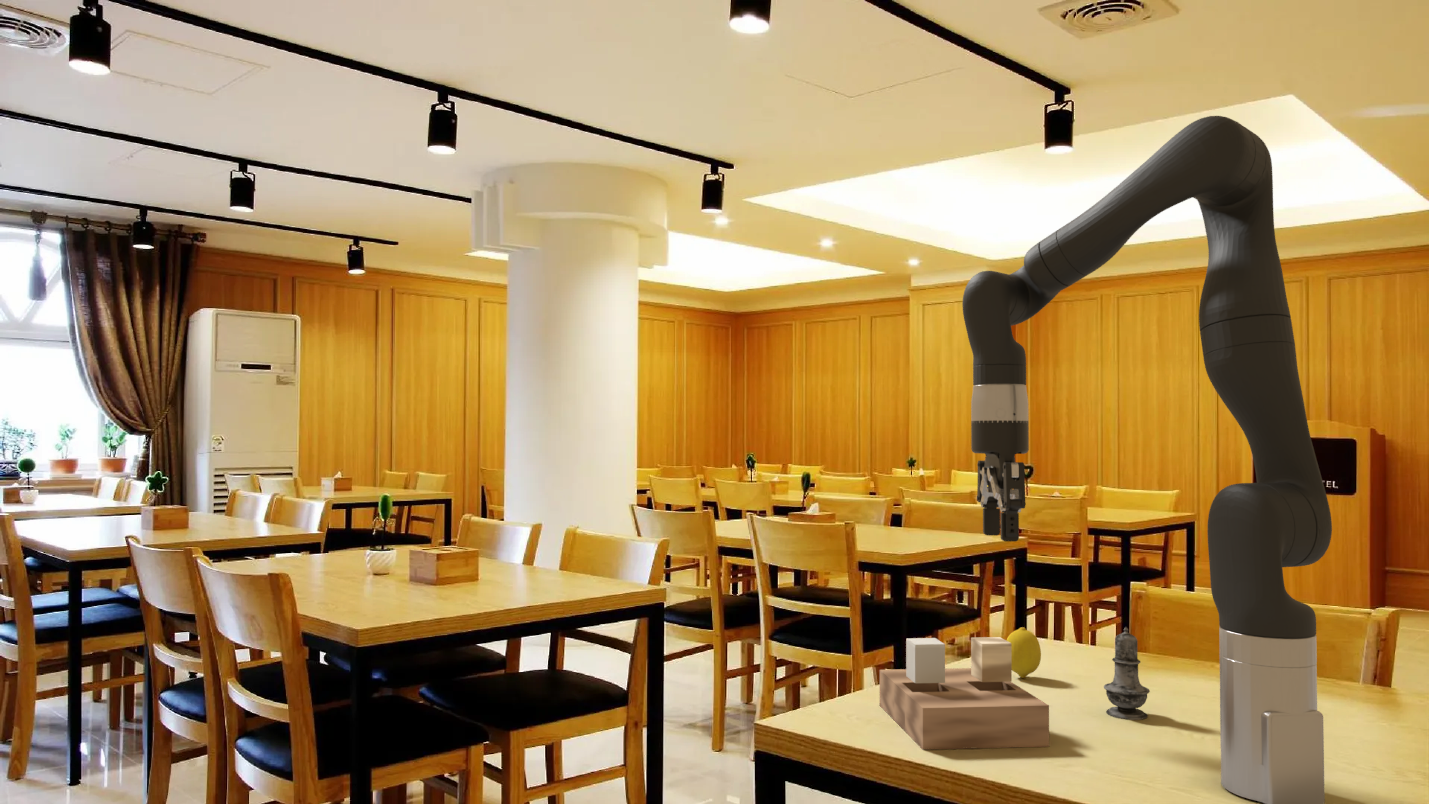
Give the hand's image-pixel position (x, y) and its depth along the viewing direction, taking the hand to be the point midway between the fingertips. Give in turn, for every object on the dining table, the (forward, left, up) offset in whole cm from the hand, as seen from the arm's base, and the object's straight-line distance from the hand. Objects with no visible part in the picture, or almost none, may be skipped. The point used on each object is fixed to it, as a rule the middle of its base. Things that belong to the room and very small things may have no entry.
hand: (1000, 538), depth 135 cm
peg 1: (-2, +11, -18) cm, 21 cm away
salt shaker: (+1, -18, -25) cm, 31 cm away
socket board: (-2, +7, -24) cm, 25 cm away
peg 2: (-2, +2, -18) cm, 19 cm away
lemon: (+22, -12, -25) cm, 36 cm away
